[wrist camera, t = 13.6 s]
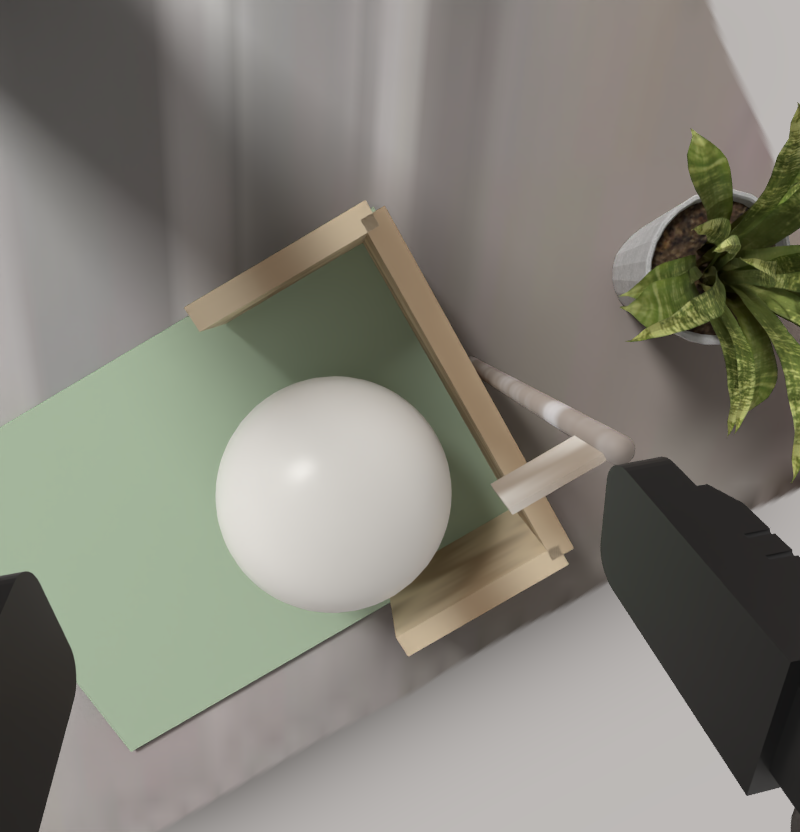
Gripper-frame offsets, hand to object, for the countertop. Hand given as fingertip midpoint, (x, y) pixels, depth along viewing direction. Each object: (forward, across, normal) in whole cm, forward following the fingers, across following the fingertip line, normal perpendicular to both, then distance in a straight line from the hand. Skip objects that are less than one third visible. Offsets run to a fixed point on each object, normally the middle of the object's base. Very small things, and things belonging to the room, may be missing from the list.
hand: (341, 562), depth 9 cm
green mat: (+24, +4, +15) cm, 29 cm away
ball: (+19, 0, +12) cm, 22 cm away
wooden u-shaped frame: (+24, -4, +12) cm, 27 cm away
